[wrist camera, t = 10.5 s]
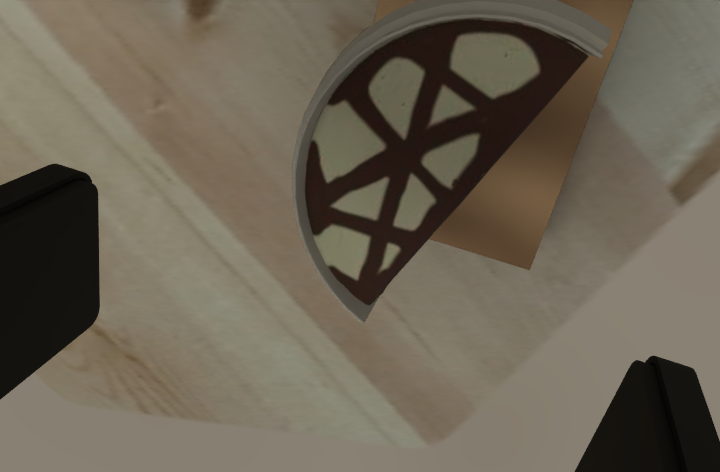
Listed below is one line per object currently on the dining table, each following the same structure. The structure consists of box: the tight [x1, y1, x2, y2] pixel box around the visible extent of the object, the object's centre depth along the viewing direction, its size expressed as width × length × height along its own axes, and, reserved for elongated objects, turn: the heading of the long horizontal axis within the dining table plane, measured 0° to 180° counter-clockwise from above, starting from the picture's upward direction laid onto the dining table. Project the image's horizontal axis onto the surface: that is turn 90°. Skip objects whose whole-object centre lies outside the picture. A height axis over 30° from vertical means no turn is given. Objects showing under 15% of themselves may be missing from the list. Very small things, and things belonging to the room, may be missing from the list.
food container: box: [292, 0, 612, 324], centre depth 22 cm, size 12×6×10 cm, turn 145°
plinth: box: [374, 0, 633, 270], centre depth 29 cm, size 14×10×5 cm
